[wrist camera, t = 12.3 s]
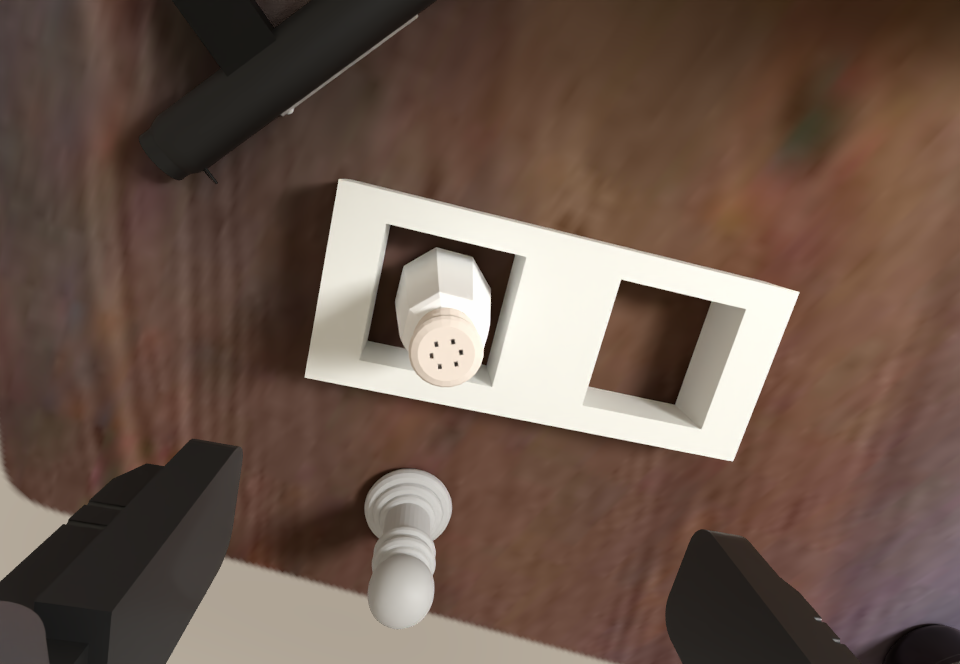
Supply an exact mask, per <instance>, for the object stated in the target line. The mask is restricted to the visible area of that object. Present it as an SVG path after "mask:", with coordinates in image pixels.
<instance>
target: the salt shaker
mask: <svg viewBox="0 0 960 664" xmlns="http://www.w3.org/2000/svg"><path fill="white" fill-rule="evenodd" d="M395 307H396V314H397V321H398V328H399V335H400V339H401V341H402V343H403V345H404V347H405V348H406V350H407V351H408V353H409V360H410V363H411V366H412V368H413V369H414V371H415V372H416V374H417V375H418V376H419V377H420V378H421V379H422V380H424V381H425V382H427V383H429V384H431V385H434V386H438V387H454V386H457V385H461V384H463V383H464V382H466V381H468V380H469V379H471V378H472V377H473V376H474V375H475V374H476V372H477V371H478V369H479V368H480V366H481V363H482V360H483V356H484V346H485V343H486V339H487V336H488V332H489V327H490V310H491V288H490V286H489V285H488V283H487V281H486V279H485V278H484V276H483V274H482V272H481V270H480V269H479V267H478V265H477V263H476V262H475V260H474V258H473V257H471V256H467V255H464V254H460V253H456V252H453V251H449V250H445V249H442V248H438V247H436V248H434V249H432V250H430V251H429V252H427V253H425V254H423V255H422V256H420V257H418V258H416V259H415V260H413V261H411V262H410V263H408V264H406V265H404V266H403V270H402V274H401V279H400V283H399V287H398V291H397V295H396V299H395Z"/></svg>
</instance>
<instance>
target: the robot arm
mask: <svg viewBox="0 0 960 664" xmlns="http://www.w3.org/2000/svg"><path fill="white" fill-rule="evenodd" d="M242 458H243V452H242V448H241V447H238V446H233V445H227V444H221V443H216V442H210V441H204V440H199V439H191V440H190V441H189V442H188V443H187V444H186V445H185V446H184V447H183V448H182V449H181V450H180V451H179V452H178V453H177V454H176V455H175V456H174V457H173V458H172V459H171V460H170V461H169V462H168V463H167V464H166V465H165V466H159V465H153V464H145V465H142V466H140V467H138V468H136V469H134V470H131V471H129V472H127V473H125V474H123V475H120V476H118V477H116V478H114V479H112V480H111V481H110V482H109V483H108V484H107V485H106V486H105V487H104V488H102V489H101V490H100V491H99V492H98V493H97V494H96V495H95V496H94V497H93V498H91V499H90V500H89V503H88V505H84V506H83V507H82V508H80V509H79V510H78V511H77V512H76V513H75V514H74V515H73V516H72V517H71V518H69V520H68V523H67V524H66V525H65V524H63V525H62V526H61V527H60V528H59V529H58V530H57V531H55V532H54V533H53V534H52V535H51V536H50V537H49V538H48V539H46V540H45V541H44V542H43V543H42V544H41V545H40V546H39V547H38V548H37V549H36V550H34V551H33V552H32V553H31V554H30V555H29V556H28V557H27V558H26V559H25V560H23V561H22V562H21V563H20V564H19V565H18V566H17V567H16V568H15V569H14V570H13V571H12V572H10V573H9V574H8V575H7V576H6V577H5V578H4V579H3V580H1V581H0V664H166V662H167V661H168V659H169V657H170V655H171V653H172V652H173V650H174V648H175V646H176V645H177V643H178V641H179V639H180V638H181V636H182V634H183V632H184V631H185V629H186V627H187V625H188V623H189V622H190V620H191V618H192V616H193V614H194V613H195V611H196V609H197V608H198V606H199V604H200V602H201V601H202V599H203V597H204V595H205V594H206V592H207V590H208V588H209V587H210V585H211V583H212V581H213V579H214V577H215V576H216V574H217V572H218V570H219V569H220V567H221V564H222V562H223V560H224V557H225V554H226V551H227V548H228V545H229V542H230V538H231V533H232V528H233V522H234V515H235V508H236V501H237V494H238V487H239V480H240V473H241V466H242ZM666 626H667V631H668V634H669V637H670V639H671V641H672V643H673V645H674V647H675V649H676V651H677V653H678V655H679V657H680V659H681V661H682V663H683V664H861V662H860V661H859V660H858V659H857V658H856V657H855V656H854V654H853V653H852V652H851V651H850V650H849V649H848V648H847V646H846V645H844V644H840V638H839V637H838V636H837V635H836V634H835V633H834V632H833V630H832V629H831V628H830V627H829V626H828V625H827V624H826V623H824V622H821V617H820V616H819V614H818V613H817V612H816V611H815V610H814V609H813V608H812V606H811V605H810V604H809V603H808V602H807V601H806V600H805V598H804V597H803V596H802V595H801V594H800V593H799V592H798V591H797V590H795V589H794V588H793V587H792V586H790V585H789V584H788V583H787V582H785V581H784V580H783V579H782V578H780V577H779V576H778V575H777V574H776V572H775V571H774V570H773V569H772V568H771V567H770V565H769V564H768V563H767V562H766V561H765V560H764V558H763V557H762V556H761V555H760V554H759V553H758V551H757V550H756V549H755V548H754V547H753V546H752V544H751V543H750V542H749V541H748V540H747V539H746V538H744V537H742V536H738V535H732V534H727V533H721V532H715V531H710V530H702V529H701V530H698V531H697V532H696V533H695V534H694V535H693V536H692V538H691V540H690V542H689V545H688V547H687V550H686V553H685V555H684V558H683V560H682V563H681V566H680V568H679V571H678V573H677V576H676V578H675V581H674V584H673V586H672V589H671V591H670V594H669V597H668V600H667V604H666Z"/></svg>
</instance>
